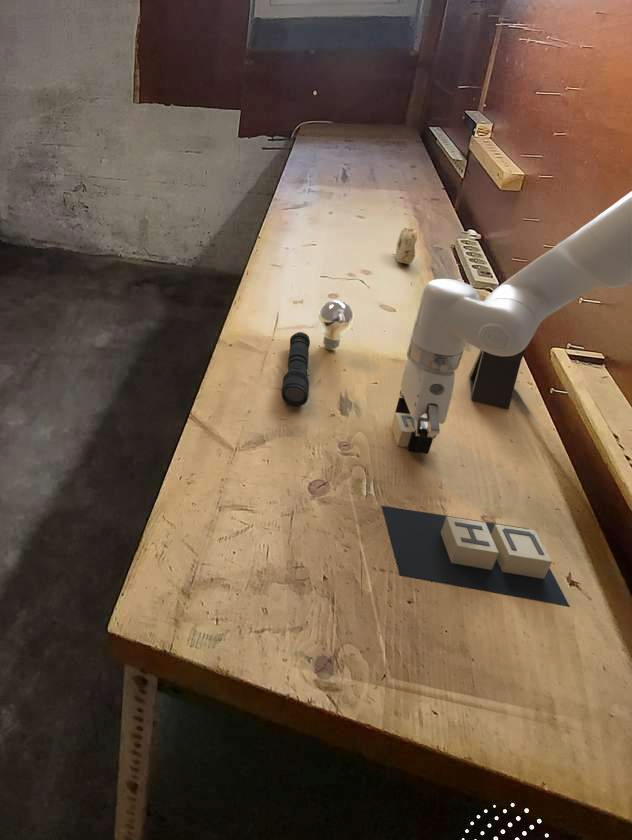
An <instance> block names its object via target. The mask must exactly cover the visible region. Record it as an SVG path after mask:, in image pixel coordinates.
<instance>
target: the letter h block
mask: <svg viewBox="0 0 632 840" xmlns="http://www.w3.org/2000/svg"><path fill="white" fill-rule="evenodd" d="M445 516H446V519H445V522H444V524H443V527H442V530H441V536H442V538H443V541H444V544H445V547H446V549H447V552H448V555H449V558H450V561H451V563H455V564H461V565H466V566H472V567H478V568H484V569H489V570H492V568H493V566H494V563H495V561H496V559H497V556H498V554H499V552H498V550H497V548H496V545H495V543H494V541H493V539H492V536H491V534H490V532H489V530H488V527H487V525H486V523H485V522H486V521H483V522H479V521H480V520H477V521H473V520H474V519H470V520H466V519H467V518H464V519H460V518H461V517H458V518H454V517H455V516H451V517H447V516H448V515H445Z"/></svg>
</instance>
